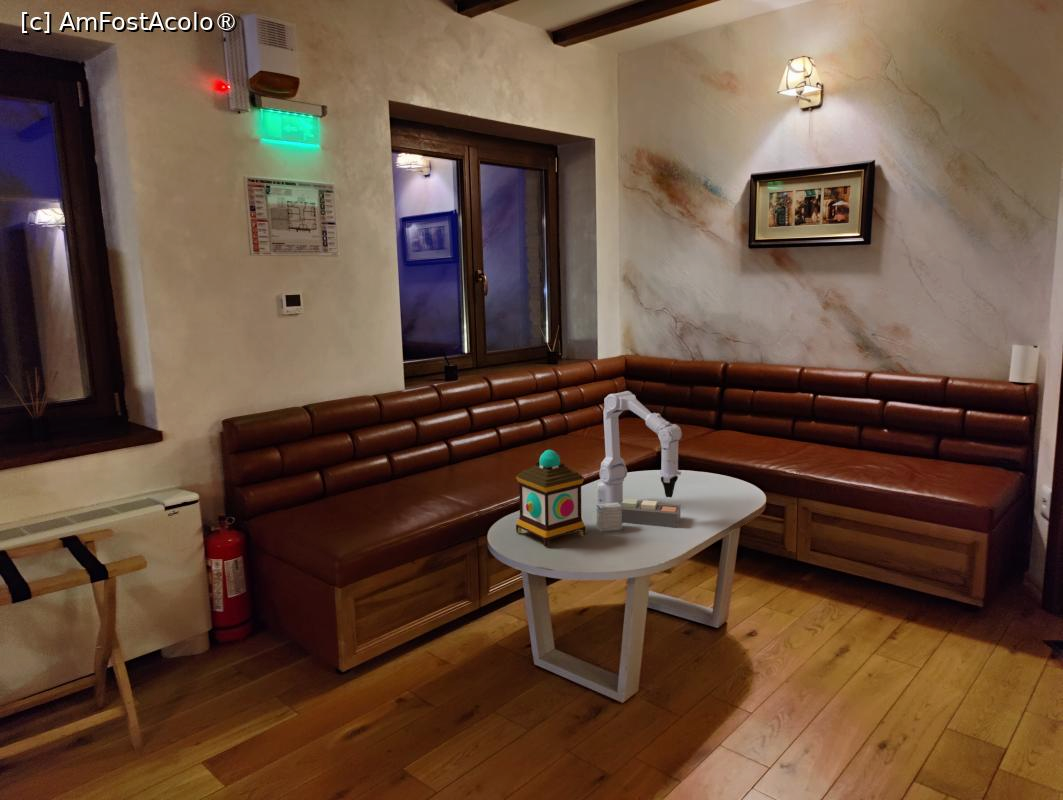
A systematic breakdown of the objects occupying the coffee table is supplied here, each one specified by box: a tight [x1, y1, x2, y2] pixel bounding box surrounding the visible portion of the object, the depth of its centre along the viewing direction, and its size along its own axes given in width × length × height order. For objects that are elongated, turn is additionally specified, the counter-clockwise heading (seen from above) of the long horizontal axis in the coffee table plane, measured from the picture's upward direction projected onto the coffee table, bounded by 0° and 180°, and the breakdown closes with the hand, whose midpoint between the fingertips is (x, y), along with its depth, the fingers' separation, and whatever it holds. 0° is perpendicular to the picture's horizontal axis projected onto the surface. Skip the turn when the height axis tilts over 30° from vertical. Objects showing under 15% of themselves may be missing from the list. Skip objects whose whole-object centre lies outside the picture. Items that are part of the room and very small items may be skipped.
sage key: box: [622, 498, 639, 508], centre depth 265 cm, size 5×5×3 cm
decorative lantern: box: [515, 449, 587, 548], centre depth 249 cm, size 20×20×30 cm
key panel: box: [620, 500, 682, 529], centre depth 263 cm, size 21×10×5 cm, turn 72°
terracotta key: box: [661, 506, 677, 512], centre depth 261 cm, size 5×5×3 cm
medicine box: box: [596, 503, 623, 532], centre depth 255 cm, size 8×4×9 cm, turn 102°
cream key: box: [641, 499, 658, 510], centre depth 263 cm, size 5×5×3 cm
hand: (669, 496), depth 260 cm, fingers closed
